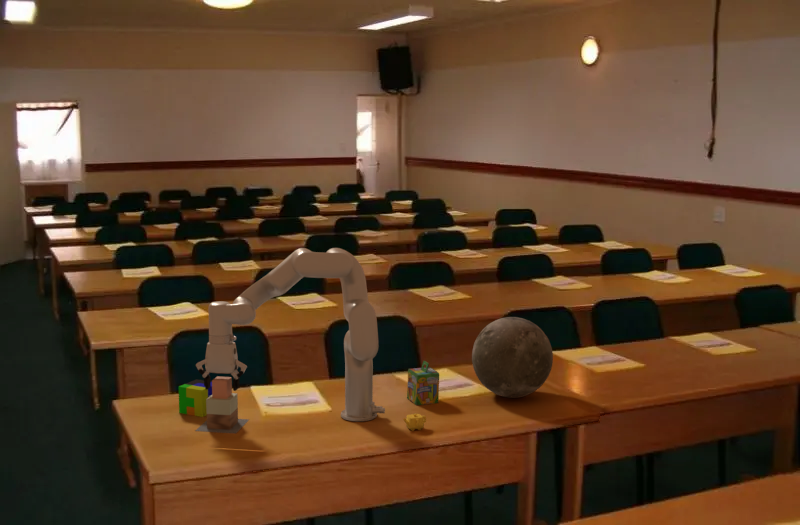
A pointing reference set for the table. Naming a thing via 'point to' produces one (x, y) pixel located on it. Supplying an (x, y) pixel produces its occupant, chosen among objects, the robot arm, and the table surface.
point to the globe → (512, 357)
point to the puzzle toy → (194, 398)
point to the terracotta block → (222, 387)
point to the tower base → (222, 420)
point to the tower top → (222, 405)
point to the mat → (233, 430)
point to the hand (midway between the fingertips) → (221, 389)
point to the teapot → (415, 421)
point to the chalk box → (423, 385)
